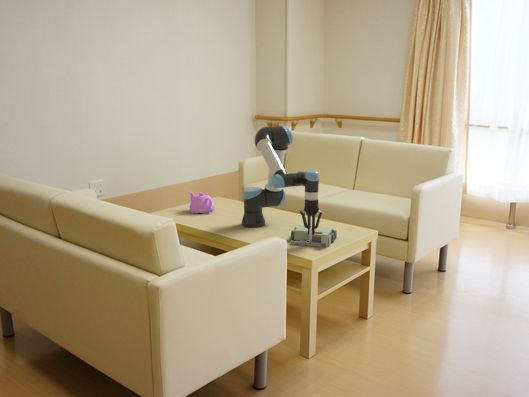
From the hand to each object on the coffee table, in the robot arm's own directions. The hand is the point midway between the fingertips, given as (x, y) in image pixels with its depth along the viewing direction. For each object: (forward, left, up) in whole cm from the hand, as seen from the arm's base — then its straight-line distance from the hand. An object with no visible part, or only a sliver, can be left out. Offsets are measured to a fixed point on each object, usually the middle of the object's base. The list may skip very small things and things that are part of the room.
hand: (311, 240), depth 312 cm
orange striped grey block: (+5, 0, -2) cm, 5 cm away
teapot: (-95, +60, -2) cm, 112 cm away
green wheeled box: (-1, +6, -2) cm, 6 cm away
